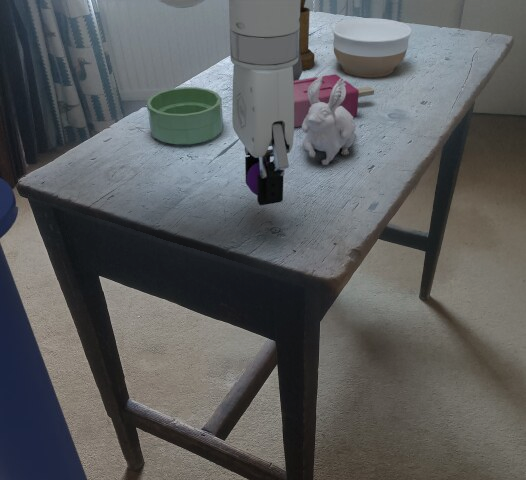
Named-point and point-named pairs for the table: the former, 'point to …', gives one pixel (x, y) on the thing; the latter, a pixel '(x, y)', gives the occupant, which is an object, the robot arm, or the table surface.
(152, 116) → the green bowl
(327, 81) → the popsicle
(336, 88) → the figurine
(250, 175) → the ball
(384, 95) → the table surface
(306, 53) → the wooden pepper mill
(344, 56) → the bowl
